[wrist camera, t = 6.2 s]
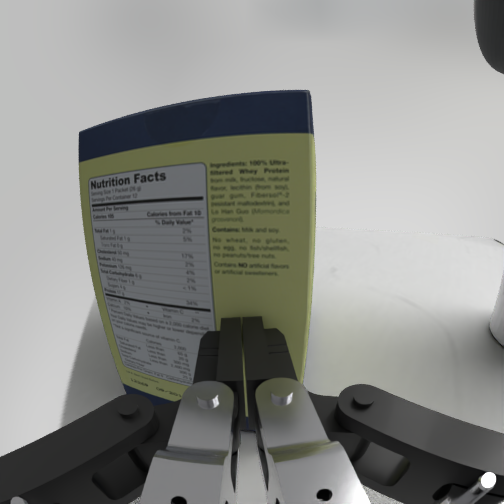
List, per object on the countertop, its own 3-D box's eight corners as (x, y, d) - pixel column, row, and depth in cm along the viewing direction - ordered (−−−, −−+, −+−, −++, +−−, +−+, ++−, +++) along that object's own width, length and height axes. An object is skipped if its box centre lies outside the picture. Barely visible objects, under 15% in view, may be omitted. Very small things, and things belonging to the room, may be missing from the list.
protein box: (310, 308, 26) (313, 141, 22) (297, 440, 11) (314, 82, 7) (208, 300, 28) (199, 146, 24) (124, 402, 14) (71, 127, 9)
